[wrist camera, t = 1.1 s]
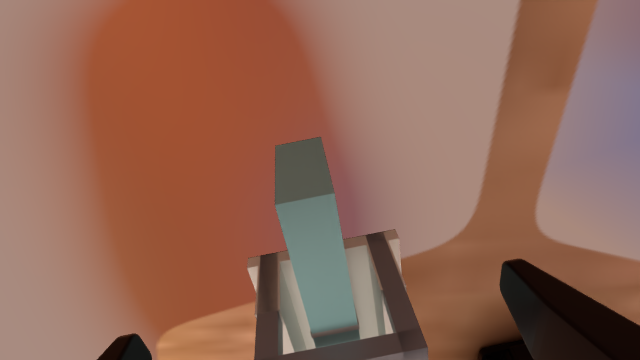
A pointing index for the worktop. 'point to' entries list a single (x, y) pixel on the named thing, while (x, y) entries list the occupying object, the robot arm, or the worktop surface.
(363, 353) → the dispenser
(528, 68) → the worktop surface
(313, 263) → the teal square rod
